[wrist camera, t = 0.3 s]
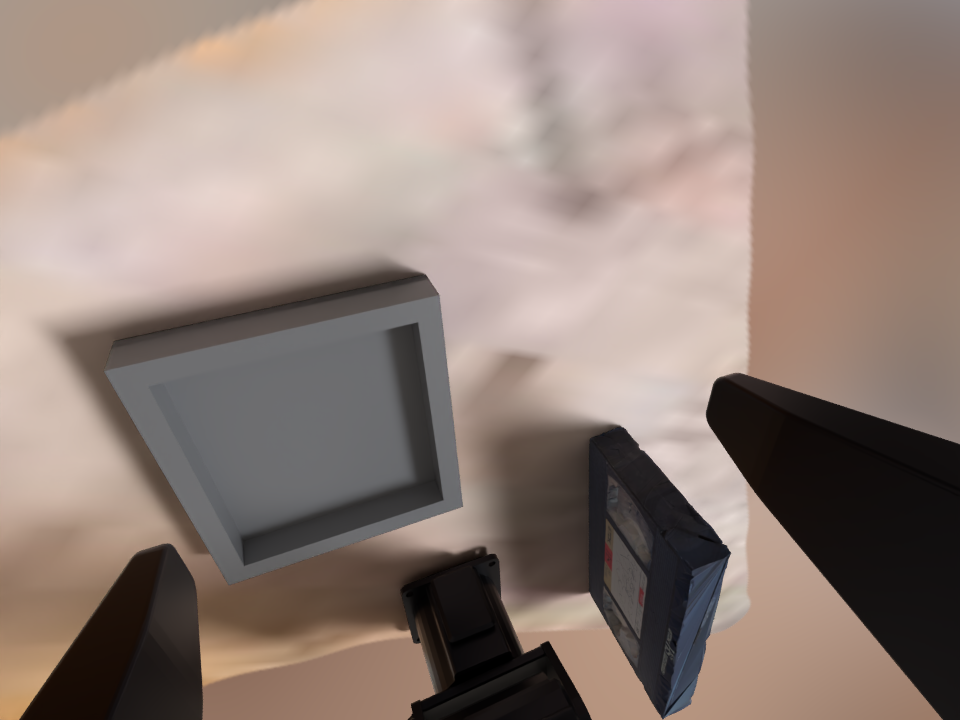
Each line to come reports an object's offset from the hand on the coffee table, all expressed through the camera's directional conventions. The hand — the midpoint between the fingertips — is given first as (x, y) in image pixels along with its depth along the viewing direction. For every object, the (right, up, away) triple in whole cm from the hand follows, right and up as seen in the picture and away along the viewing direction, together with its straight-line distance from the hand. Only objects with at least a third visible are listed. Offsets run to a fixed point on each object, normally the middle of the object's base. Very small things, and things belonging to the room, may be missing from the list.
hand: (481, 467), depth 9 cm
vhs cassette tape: (+9, -10, +30) cm, 33 cm away
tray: (-8, -1, +17) cm, 18 cm away
